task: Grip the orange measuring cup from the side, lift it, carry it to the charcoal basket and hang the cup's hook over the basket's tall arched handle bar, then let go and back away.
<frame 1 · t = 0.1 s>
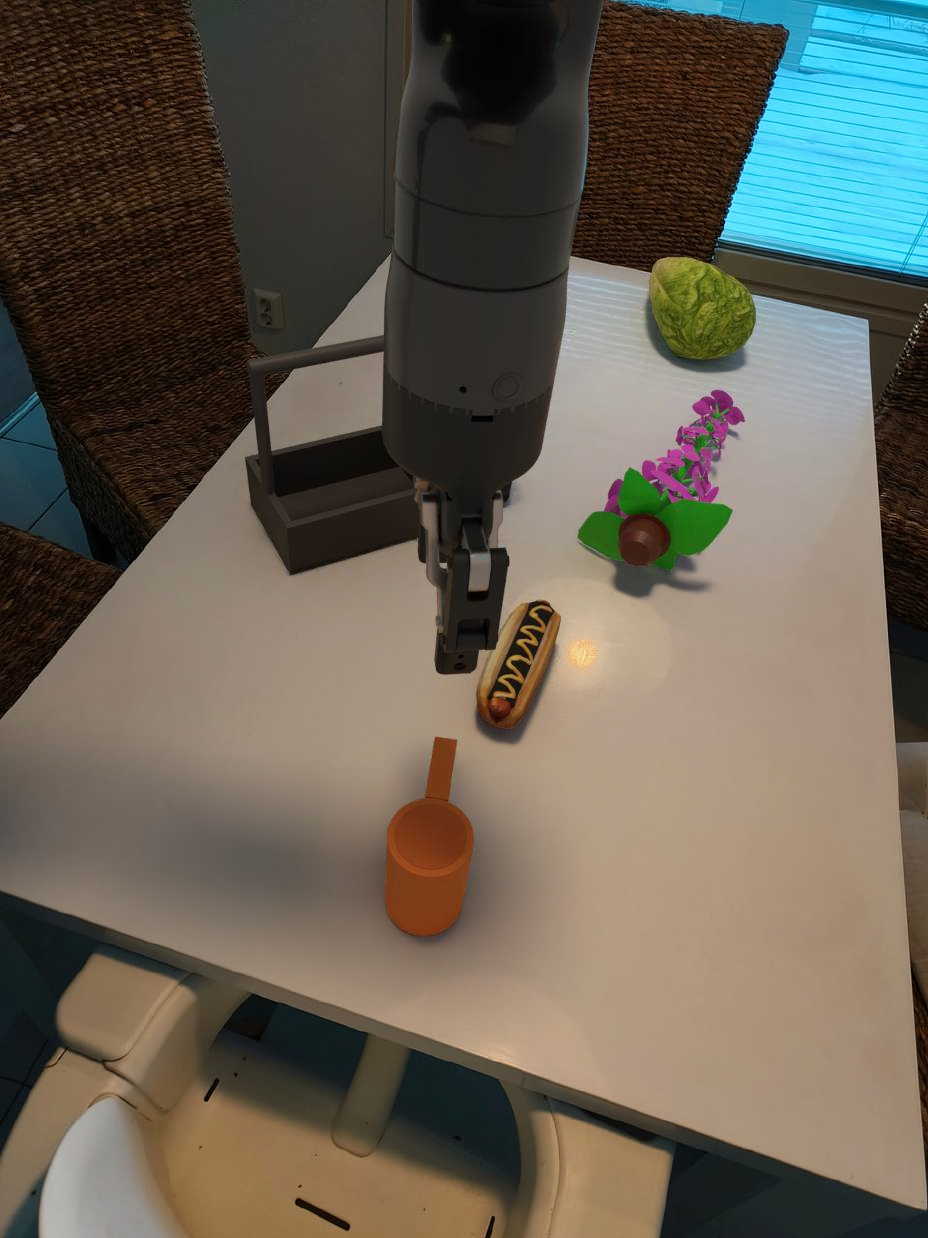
hand: (444, 611, 48), 23 cm above the table, tool pointing down, fingers open, 8 cm apart
measuring cup: (423, 897, 61), on the table
potted plant: (666, 498, 95), on the table
book: (461, 474, 95), on the table
basket: (351, 516, 88), on the table
lettuce: (681, 330, 123), on the table
banana: (503, 328, 118), on the table
hot dog: (512, 683, 75), on the table
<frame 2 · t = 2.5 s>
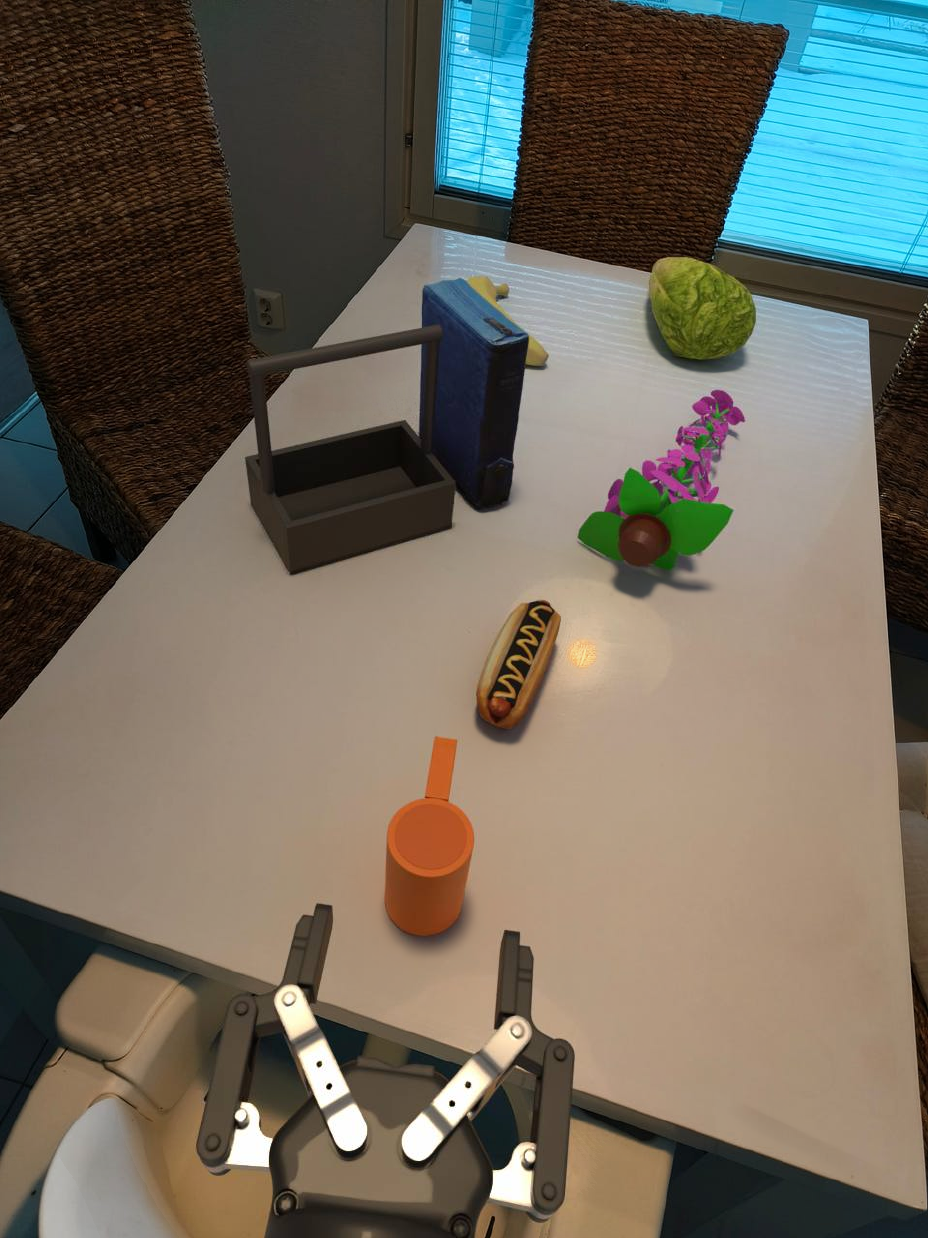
hand: (417, 924, 39), 20 cm above the table, tool horizontal, fingers open, 8 cm apart
nothing on the table moved.
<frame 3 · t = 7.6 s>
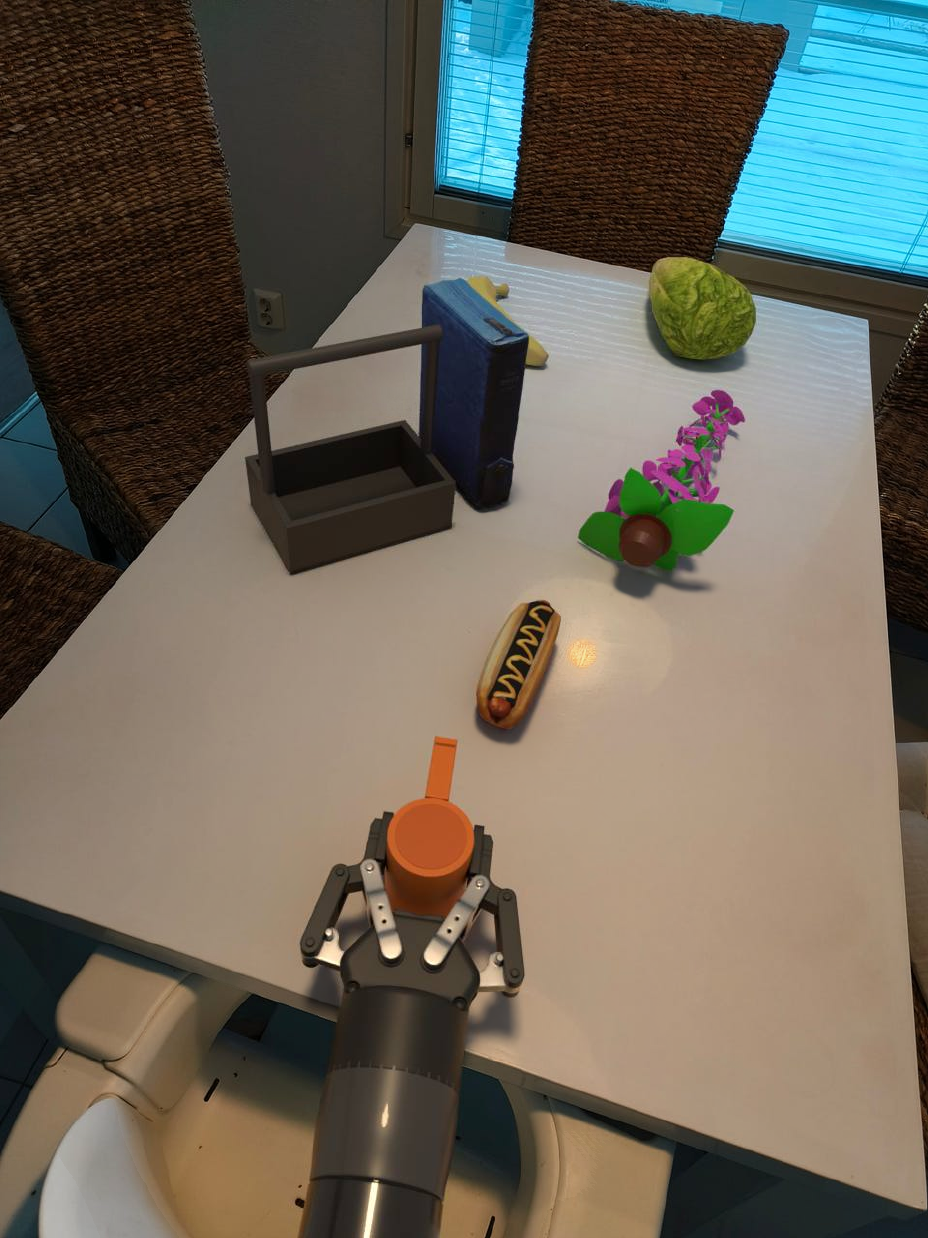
hand: (433, 824, 58), 6 cm above the table, tool horizontal, fingers closed on measuring cup, 5 cm apart
measuring cup: (423, 897, 61), on the table, touching gripper
everything else where it was.
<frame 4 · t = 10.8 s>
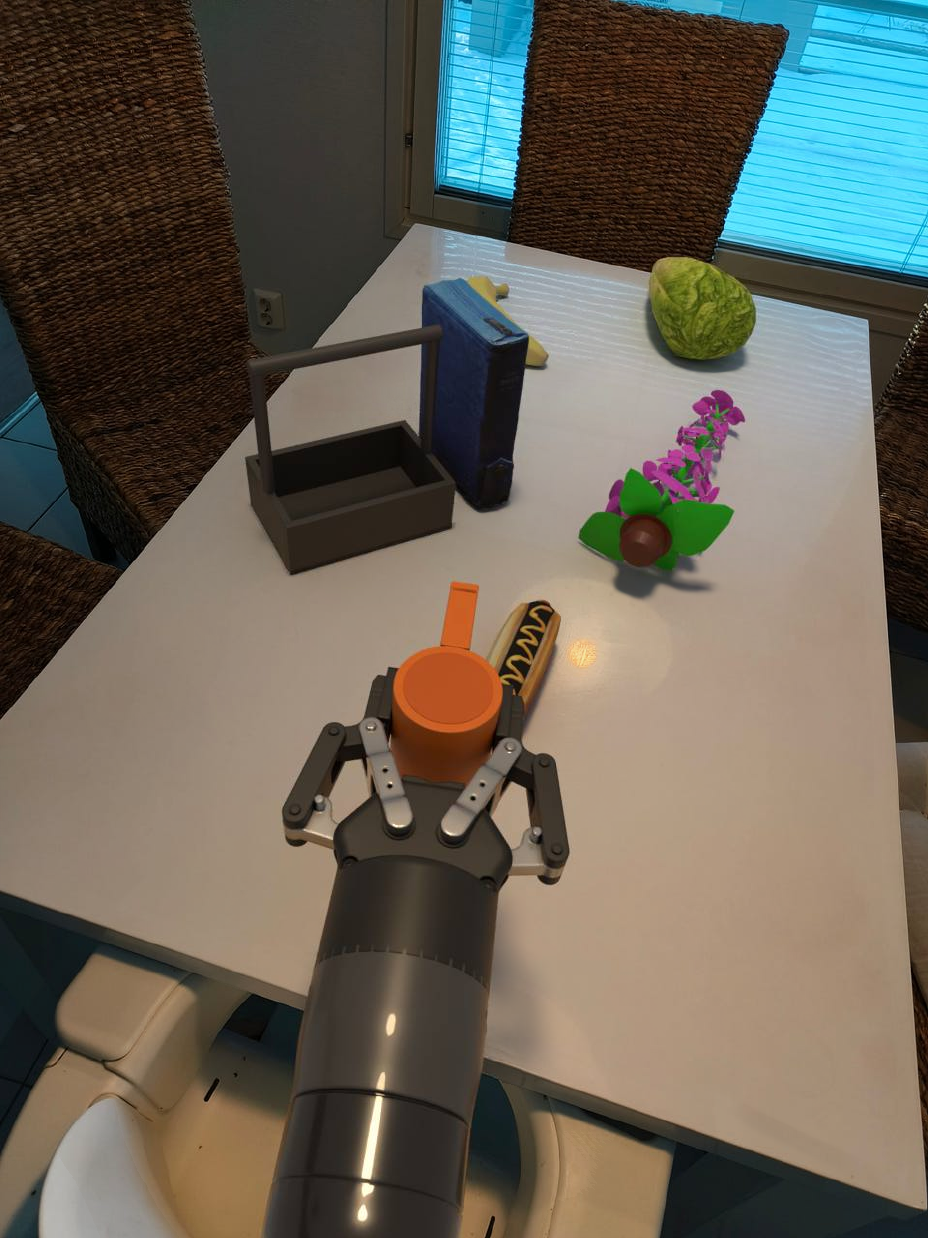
hand: (449, 685, 47), 21 cm above the table, tool horizontal, fingers closed on measuring cup, 5 cm apart
measuring cup: (436, 782, 50), point 15 cm above the table, touching gripper
everything else where it was.
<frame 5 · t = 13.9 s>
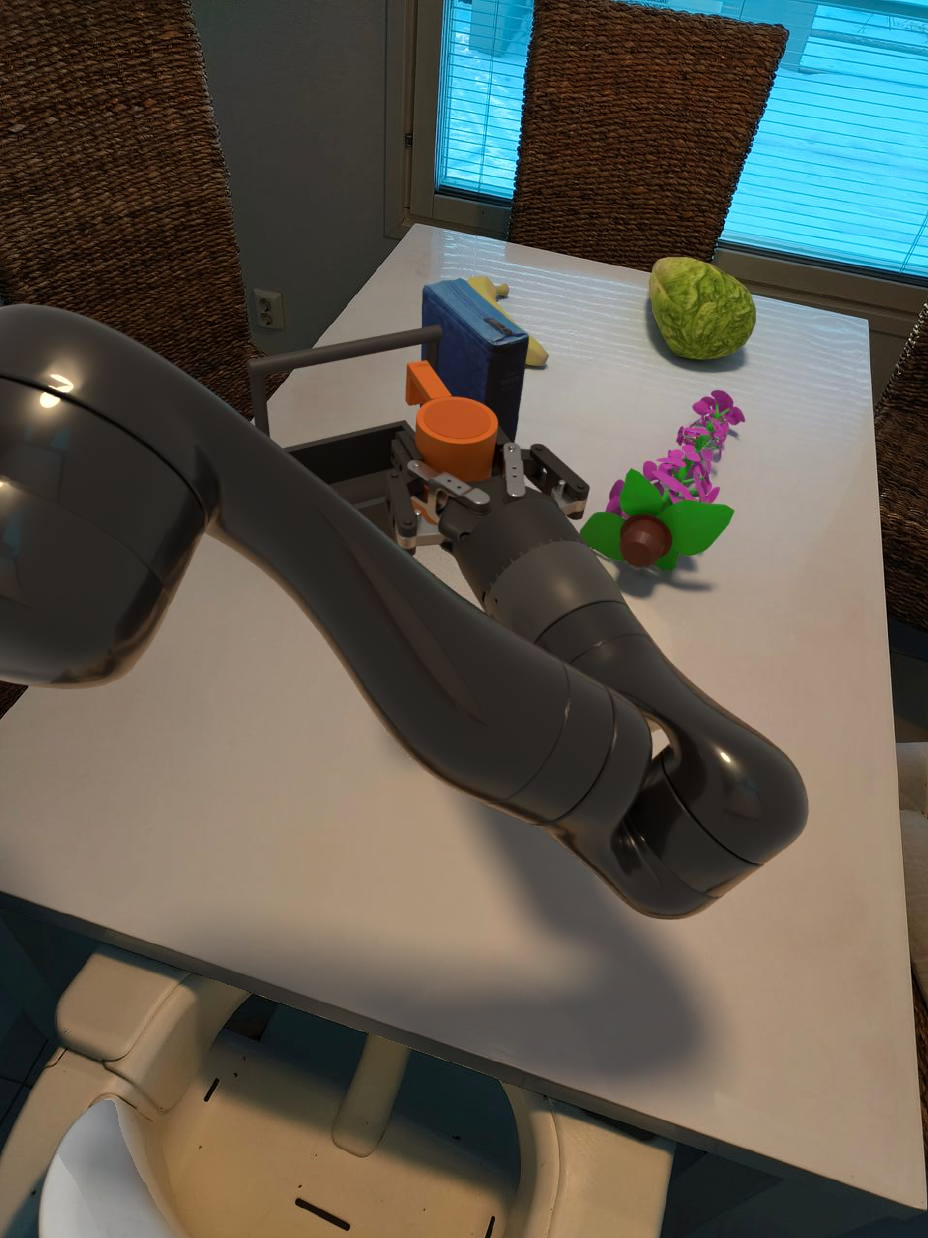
hand: (440, 435, 62), 22 cm above the table, tool horizontal, fingers closed on measuring cup, 5 cm apart
measuring cup: (447, 520, 64), point 16 cm above the table, touching gripper
everything else where it was.
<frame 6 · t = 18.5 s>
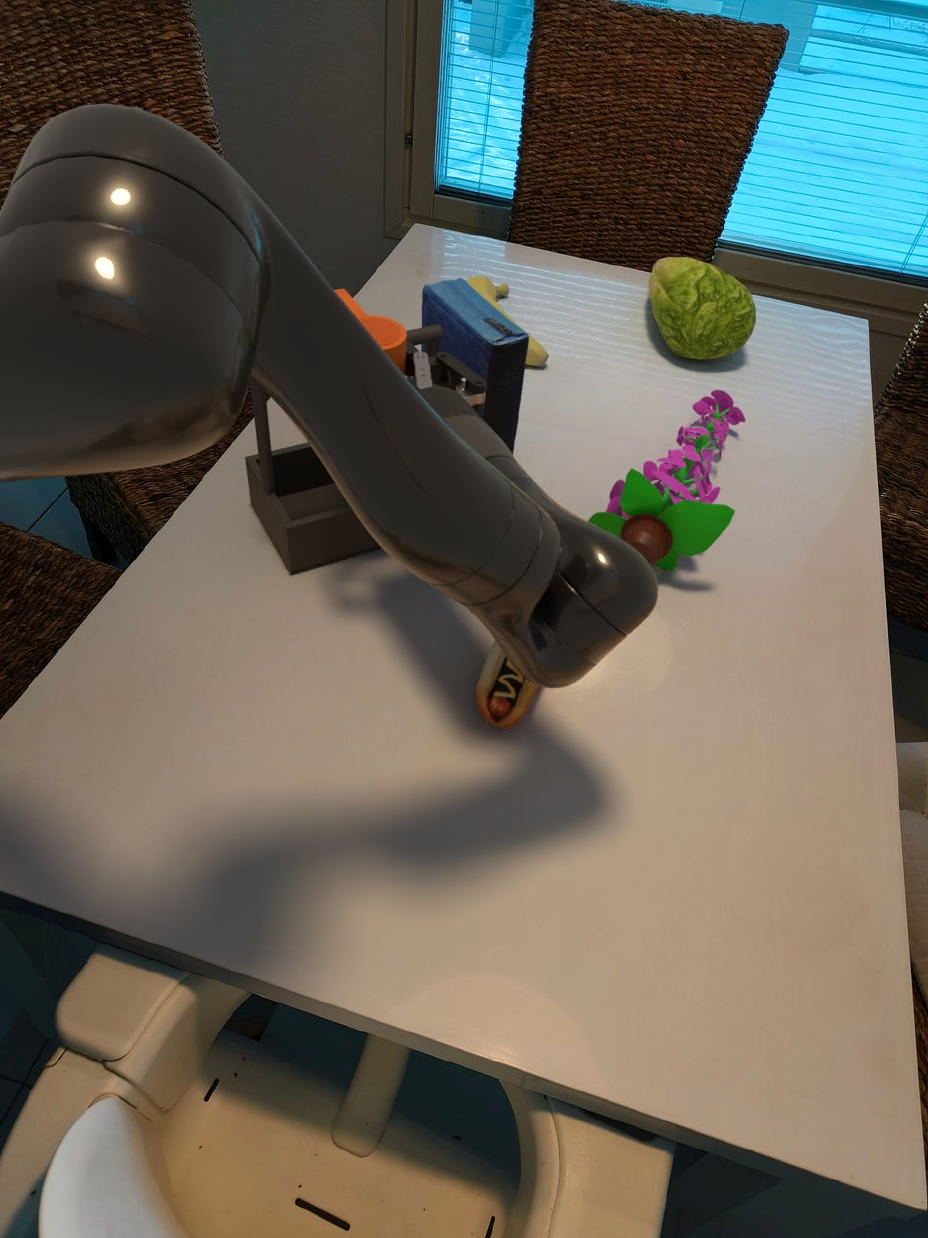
hand: (359, 350, 72), 20 cm above the table, tool horizontal, fingers closed on measuring cup, 5 cm apart
measuring cup: (371, 426, 75), point 14 cm above the table, touching gripper
everything else where it was.
when the fingers open (17 cm above the table, at t = 20.0 s): measuring cup drops 2 cm and tips over, resting on basket.
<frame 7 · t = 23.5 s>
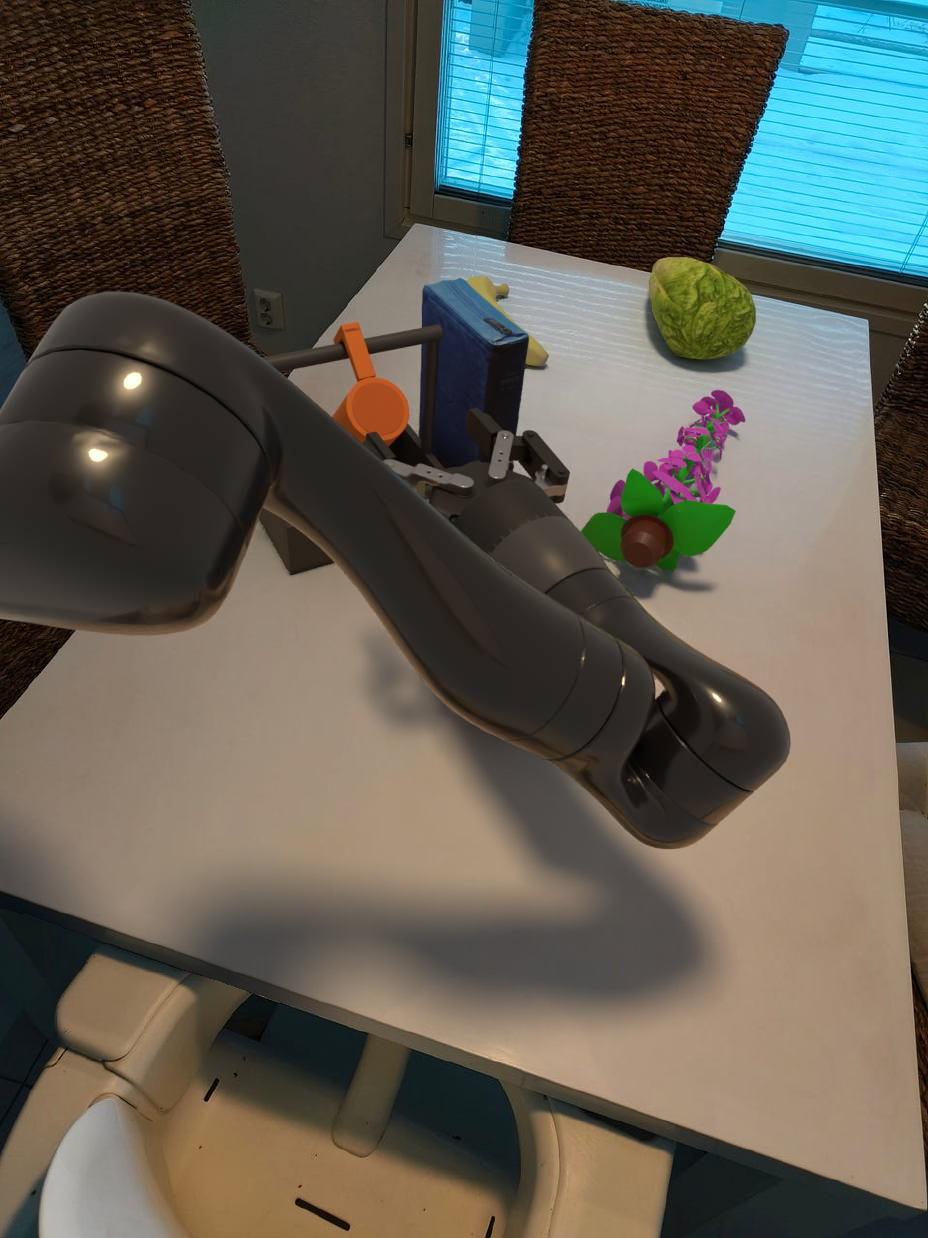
hand: (421, 429, 65), 21 cm above the table, tool horizontal, fingers open, 8 cm apart
measuring cup: (352, 440, 81), point 10 cm above the table, tilted 39°, touching basket
everything else where it was.
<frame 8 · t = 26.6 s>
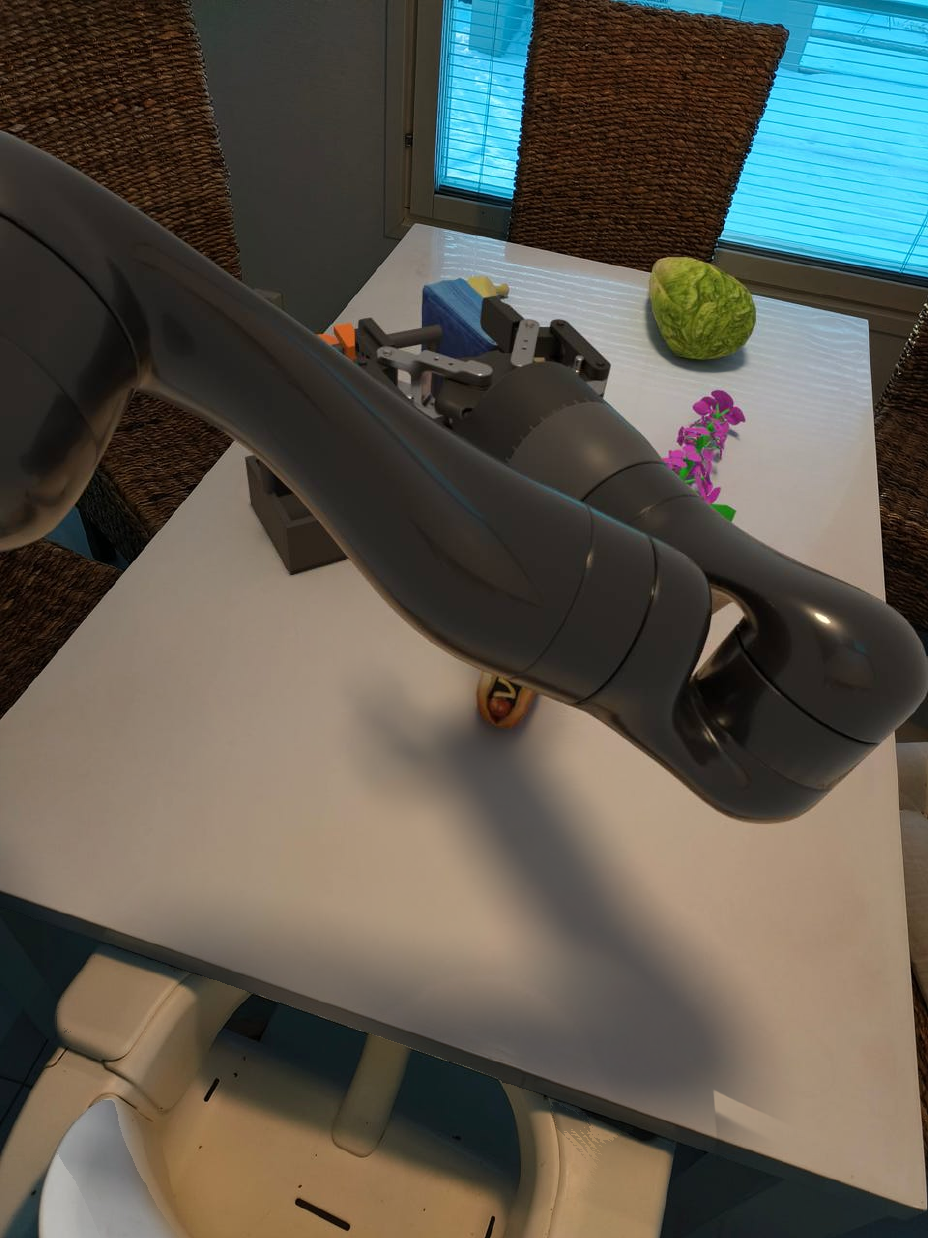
hand: (426, 320, 53), 32 cm above the table, tool horizontal, fingers open, 8 cm apart
measuring cup: (316, 358, 83), point 14 cm above the table, tilted 96°, touching basket
everything else where it was.
at the end: measuring cup point 9.9 cm above the table; measuring cup touching basket; the gripper is holding nothing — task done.
